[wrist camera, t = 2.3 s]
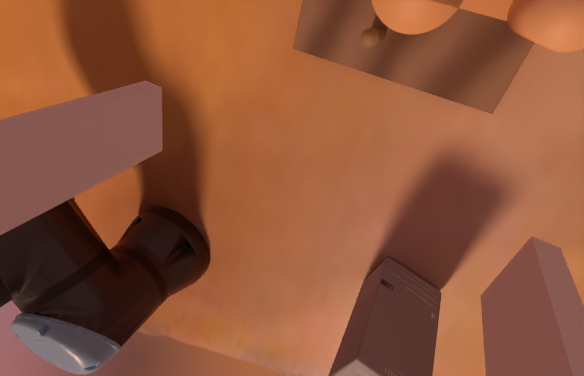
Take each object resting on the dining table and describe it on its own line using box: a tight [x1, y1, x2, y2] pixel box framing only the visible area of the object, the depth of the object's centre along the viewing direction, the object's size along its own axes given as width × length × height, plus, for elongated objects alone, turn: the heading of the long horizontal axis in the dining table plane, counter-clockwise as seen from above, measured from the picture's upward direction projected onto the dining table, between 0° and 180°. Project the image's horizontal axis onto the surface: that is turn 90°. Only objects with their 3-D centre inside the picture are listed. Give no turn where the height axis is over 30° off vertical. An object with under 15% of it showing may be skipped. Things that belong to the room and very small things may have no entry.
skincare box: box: [329, 257, 441, 376], centre depth 39 cm, size 8×7×16 cm
